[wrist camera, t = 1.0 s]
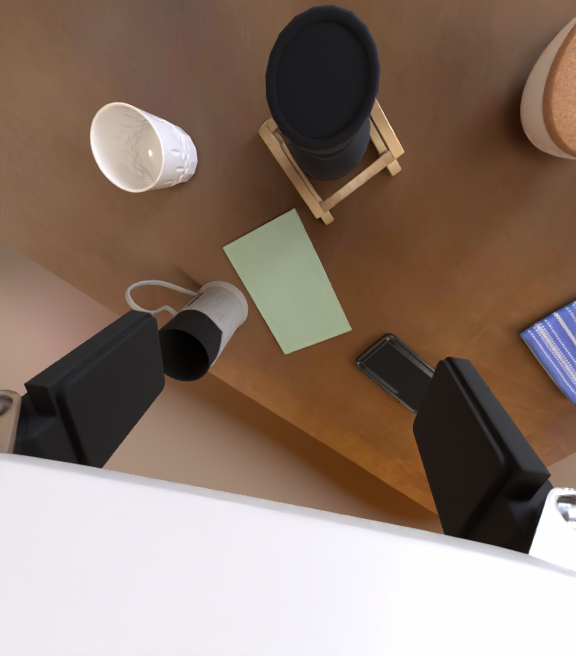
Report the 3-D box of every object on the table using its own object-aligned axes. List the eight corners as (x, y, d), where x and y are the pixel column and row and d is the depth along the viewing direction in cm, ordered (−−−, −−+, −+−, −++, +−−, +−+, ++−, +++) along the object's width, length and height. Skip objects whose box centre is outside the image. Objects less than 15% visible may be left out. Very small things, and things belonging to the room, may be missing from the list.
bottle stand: (261, 127, 36) (240, 114, 28) (336, 53, 32) (337, 13, 24) (326, 224, 40) (324, 237, 32) (400, 169, 36) (418, 168, 28)
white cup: (213, 149, 38) (176, 142, 29) (184, 201, 42) (144, 208, 33) (160, 103, 37) (106, 81, 28) (135, 160, 40) (79, 157, 31)
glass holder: (225, 339, 51) (186, 396, 38) (159, 279, 48) (92, 320, 35) (259, 309, 48) (229, 360, 34) (191, 242, 44) (130, 271, 31)
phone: (390, 334, 45) (455, 390, 48) (389, 331, 46) (453, 386, 49) (353, 365, 49) (415, 415, 51) (352, 361, 50) (414, 411, 52)
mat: (223, 247, 44) (222, 247, 43) (295, 207, 40) (294, 208, 40) (285, 353, 51) (285, 354, 50) (351, 329, 47) (351, 330, 47)
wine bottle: (340, 187, 38) (353, 219, 12) (296, 163, 37) (204, 138, 11) (368, 133, 35) (470, 11, 9) (320, 106, 34) (273, -115, 8)
